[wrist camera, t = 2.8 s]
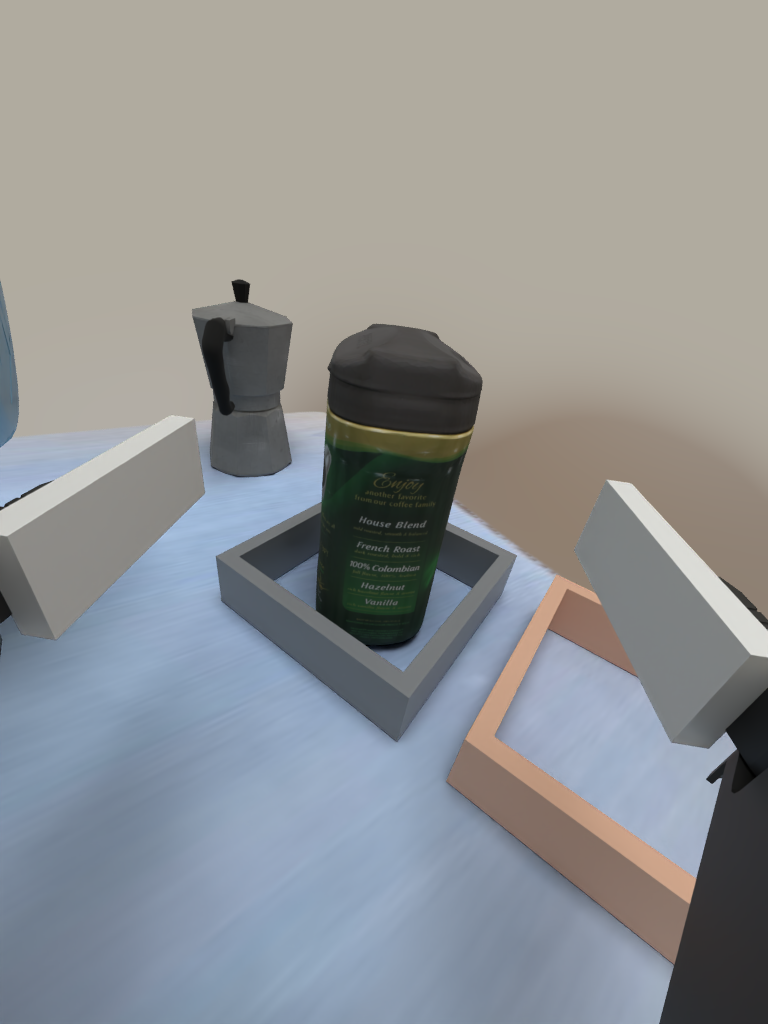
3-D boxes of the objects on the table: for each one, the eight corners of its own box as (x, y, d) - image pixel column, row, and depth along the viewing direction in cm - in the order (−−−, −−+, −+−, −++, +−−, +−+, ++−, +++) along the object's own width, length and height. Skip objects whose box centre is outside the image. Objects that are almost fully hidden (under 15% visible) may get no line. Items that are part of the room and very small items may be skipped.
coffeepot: (229, 432, 51) (215, 269, 42) (303, 441, 52) (305, 282, 42) (174, 492, 38) (135, 277, 29) (273, 503, 39) (267, 295, 29)
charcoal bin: (221, 600, 28) (215, 556, 26) (357, 517, 39) (361, 481, 37) (397, 741, 21) (409, 698, 19) (501, 594, 32) (516, 555, 30)
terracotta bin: (446, 781, 20) (464, 739, 18) (538, 613, 31) (556, 574, 29) (834, 1093, 13) (938, 1086, 11) (778, 741, 24) (826, 703, 22)
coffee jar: (430, 655, 26) (515, 362, 16) (308, 648, 26) (319, 337, 16) (416, 560, 34) (467, 326, 24) (323, 552, 34) (337, 308, 24)
